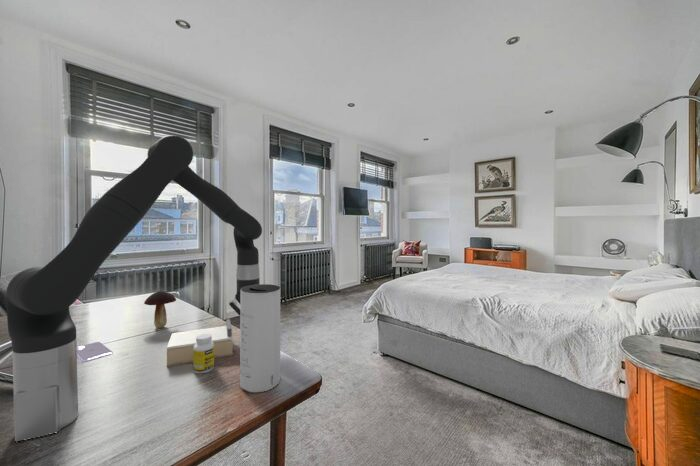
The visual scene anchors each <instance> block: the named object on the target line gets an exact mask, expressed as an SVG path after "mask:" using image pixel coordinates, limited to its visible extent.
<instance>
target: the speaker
mask: <svg viewBox="0 0 700 466" xmlns="http://www.w3.org/2000/svg"><path fill="white" fill-rule="evenodd" d="M239 305H240V307H239V309H240V315H239V316H240V317H239V318H240V319H239V320H240V322H239V323H240V328H239V329H240V331H239V333H240V334H239V335H240V336H239V337H240V338H239V339H240V342H239V344H240V345H239V346H240V347H239V349H240V350H239V356H240V357H239V358H240V359H239V362H240V363H239V368H240V370H239V372H240V373H239V376H240V377H239V378H240V379H239V384H240V388H241V389H242V390H243V391H244V392H245V393H246V392H247V393H250V394H251V393H253V394H258V393H259V392H260V393H264V391H265V392H268V391H270V389H271V390H272V389H274V388H276V387H277V386H278V385H279V383H280V381H281V286H280V285H276V284H271V283H270V284H268V283H267V284H266V283H261V284H259V285H250V286H246V287H243V288H241V294H240V303H239ZM277 384H278V385H277ZM276 385H277V386H276ZM275 386H276V387H275ZM273 387H274V388H273ZM260 393H259V394H260Z"/></svg>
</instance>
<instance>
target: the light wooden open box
mask: <svg viewBox="0 0 700 466" xmlns="http://www.w3.org/2000/svg"><path fill="white" fill-rule="evenodd" d="M193 349H194V346H187V347H181V348H174V349H168V350H167V349H166V367H167V368H168V367H169V368H170V367H174V366H179V365H180V366H181V365H185V364H191V363H193ZM233 354H234V353H233V339H232V340H227V341H220V342H214V360H215V359H221V358H227V357H232V356H233Z"/></svg>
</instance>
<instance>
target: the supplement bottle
mask: <svg viewBox="0 0 700 466" xmlns="http://www.w3.org/2000/svg"><path fill="white" fill-rule="evenodd" d="M211 340H212V335H211V334H202V335H199V336H197V337H196V343H197V344H195V345H194V349H193V364H192V365H193V368H192V369H193V373H195V374H207V373H209V372H211V371H213V369H214V368H215V359H214V343H213V342H212V341H211Z"/></svg>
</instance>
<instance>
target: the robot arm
mask: <svg viewBox="0 0 700 466" xmlns="http://www.w3.org/2000/svg"><path fill="white" fill-rule="evenodd" d="M146 153H147V158H146V159H145V160H144V161H143V162H142V163H141V164H140V165H139V166H138V167H137V168H136V169H134V170H133V171H131V172H130V173H128V175H126V176H125V177H123V178H122V179H120V180H119V181H118V182H117V183H115V184H114V185H113V186H112V187H110V188H109V189H108V190H107V191H106V192H105V193H104V194H102V196H101V197H100V198H98V200H97V201H95V203H93V205H92V206H91V207H90V208H89V209H88V210H87V212H86V213H85V214H84V216H83V218H82V220H81V222H80V223H79V226H78V227H77V230H76V232H75V233H74V235H73V237H72V239H71V240H70V242H69V243H68V244H67V245H66V246H65V247H64V248H63V249H62V250H61V251H60V252H59V253H58V254H57V255H55V257H53V259H51V260H50V262H48V263H47V264H45V266H35V267H34V266H33V267H30V268H26V269H24V270H22V271H20V272H18V273H17V274H16V275H14V276H13V277H12V278H11V280H10V281H9V283H8V284H7V288H6V292H5V293H6V294H5V303H6V304H5V305H6V319H7V332H8V335H9V338H10V341H11V342H10V343H11V348H12V349H11V351H12V355H11V356H12V385H13V386H12V387H13V418H14V419H13V420H14V421H13V422H14V423H13V424H14V427H13V428H14V442H15V441H18V440H24V439H28V438H34V437H38V438H40V437H39V436H42V435H46V434H49V433H55V432H58V431H59V432H60V431H61V430H62V429H64V428H65V427H67V426H69V425H70V424H71V423H72V422H74V421H75V420H76V419H77V417H78V415H79V395H78V394H79V391H78V390H79V389H78V386H79V385H78V359H77V358H78V357H77V347H78V346H77V327H76V324H75V323H74V321H73V319H72V316H71V313H70V312H71V311H70V307H71V305H73V304H74V303H75V302H76V301H77V300H78V299H79V297H80V296H81V294H82V293H83V292H84V290H86V287H88V284H89V283H90V282H91V280H92V279H93V277H94V275H96V273H97V272H98V270H99V268H100V267H101V266H102V265H103V263H105V261H106V259H107V258H108V257H109V256H110V255H111V254H112V253H113V252H114V251H115V250H116V249H117V248H118V246H120V244H121V243H122V242H123V241H124V240H125V238H126V237H127V236H128V235H130V233H131V232H132V231H133V230H134V229H135V227H136V226H137V225H138V224H139V223H140V222H141V221H142V219H143V218H144V217H145V215H146V214H147V213H148V212H149V211H150V209H151V208H152V206H154V204H155V203H156V202H157V200H158V199H159V197H160V195H161V194H162V193H163V191H164V190H165V189H166V187H167V186H168V185H169V184H170V183H171V182H172V181H173V182H174V183H176V184H177V185H179V186H180V187H181V188H183V189H184V190H186V191H187V192H188V193H190V194H191V195H192V196H194V197H195V199H198V201H200V202H201V203H202V204H203V205H204V206H206V207H207V208H208V209H209V211H212V213H214V215H216V216H217V217H218V218H219V219H220V220H221V221H222V222H224V223H225V224H229V225H230V226H232V227H233V240H234V245H235V247H236V249H235V250H236V260H237V261H236V275H235V277H236V294H235V295H234V296H235V297H234V298H233V299H232V300H229V301H228V305H229V306H230V307H231V308H232V309H233V310H234V312H236V313H237V315H238V316H240V307H239V306H238V304H240V294H241V288H243V287H246V286H250V285H259V284H260V282H261V281H260V279H261V278H260V263H259V261H260V258H259V257H260V255H259V249H258V248H257V247H256V246H255V244H254V240H257V239H259V238H260V237H261V236H262V235H263V234H262V233H263V227H262V225H261V223H260V222H259V220H258V219H256V217H254V216H252V215H251V214H250V213H248V212H247V211H246V210H244V209H242V207H240V206H239V205H238V204H237V202H235V201H234V200H233V199H232V198H231V197H230V196H229V195H228V194H227V193H226V192H225V191H223V190H222V189H221V188H219V187H217V186H216V185H214V184H212V183H211V182H209V181H207V180H206V179H204V178H203V177H201V176H200V175H199V174H198V173H196V172H195V171H194V170H193V169H192V168H191V167H190V164H191V163H192V161H193V159H194V150H193V147H192V145H191V143H190V142H189V141H188V140H187V139H186V138H185V137H183V136H179V135H167V136H166V135H165V136H163V137H160V139H158V140H157V141H155V142H154V143H153V144H152V145H150V147H149V148H148V151H147V152H146ZM237 302H238V303H237ZM63 427H64V428H63ZM61 428H62V429H61ZM59 432H58V433H59ZM34 439H35V438H34Z"/></svg>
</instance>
